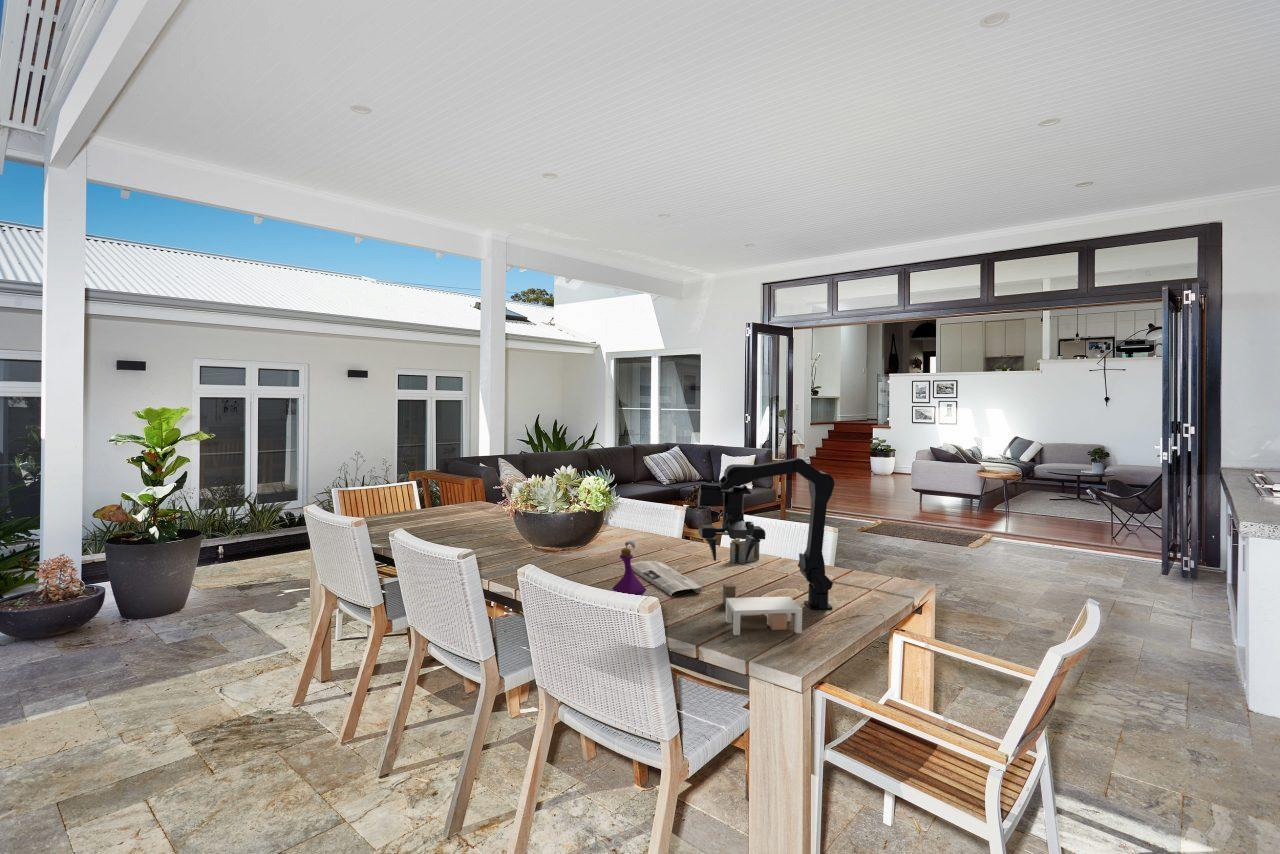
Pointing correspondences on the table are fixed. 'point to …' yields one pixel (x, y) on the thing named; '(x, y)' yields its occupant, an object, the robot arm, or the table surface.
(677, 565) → the table surface
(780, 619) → the terracotta block
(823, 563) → the robot arm
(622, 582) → the perfume bottle
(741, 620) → the tan post with foot
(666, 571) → the newspaper
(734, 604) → the low shelf
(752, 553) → the ruin model on sheet
